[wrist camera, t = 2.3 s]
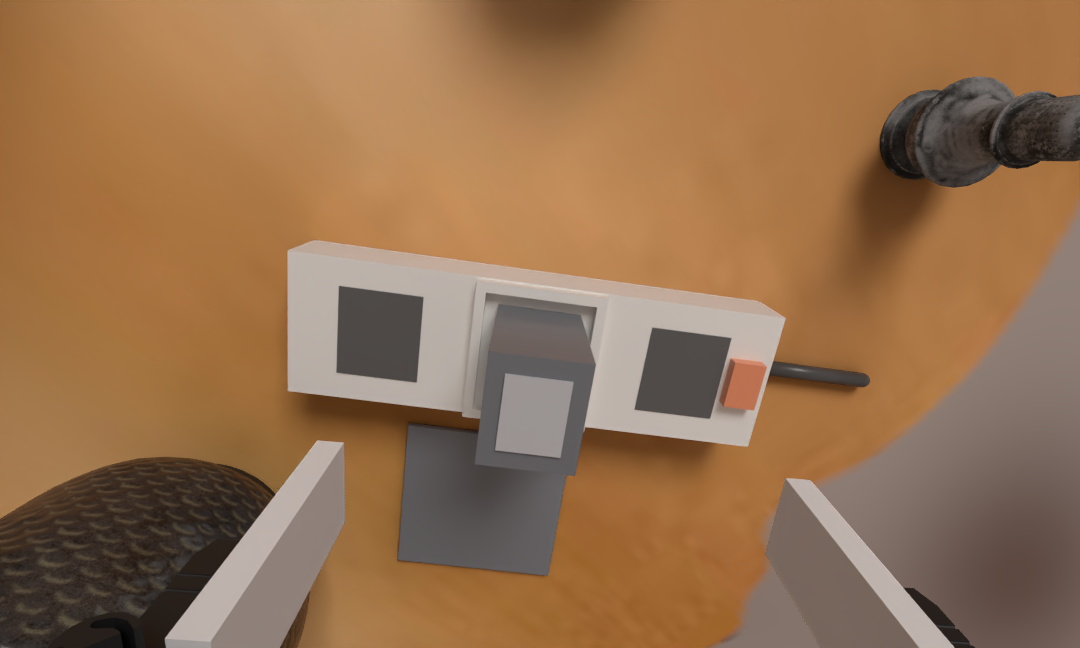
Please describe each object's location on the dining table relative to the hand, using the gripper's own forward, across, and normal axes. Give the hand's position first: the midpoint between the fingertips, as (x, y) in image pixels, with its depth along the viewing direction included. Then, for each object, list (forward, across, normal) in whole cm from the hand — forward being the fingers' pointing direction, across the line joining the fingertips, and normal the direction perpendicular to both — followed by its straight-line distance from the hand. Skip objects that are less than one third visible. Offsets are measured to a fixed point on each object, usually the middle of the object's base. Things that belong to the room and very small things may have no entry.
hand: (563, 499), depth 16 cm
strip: (+21, +4, -2) cm, 22 cm away
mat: (+21, -3, -16) cm, 27 cm away
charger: (+17, -1, -2) cm, 17 cm away
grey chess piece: (+22, +22, +13) cm, 34 cm away
